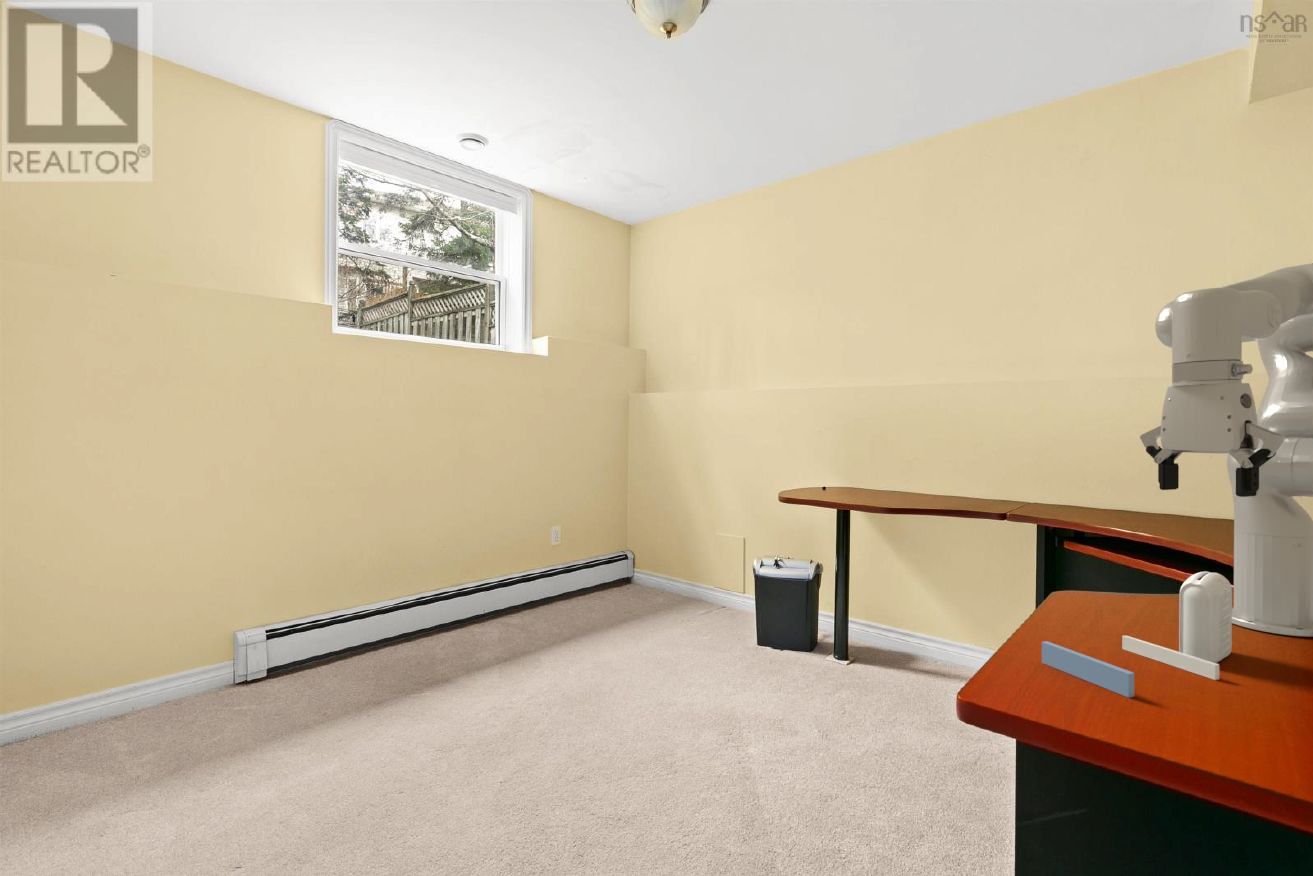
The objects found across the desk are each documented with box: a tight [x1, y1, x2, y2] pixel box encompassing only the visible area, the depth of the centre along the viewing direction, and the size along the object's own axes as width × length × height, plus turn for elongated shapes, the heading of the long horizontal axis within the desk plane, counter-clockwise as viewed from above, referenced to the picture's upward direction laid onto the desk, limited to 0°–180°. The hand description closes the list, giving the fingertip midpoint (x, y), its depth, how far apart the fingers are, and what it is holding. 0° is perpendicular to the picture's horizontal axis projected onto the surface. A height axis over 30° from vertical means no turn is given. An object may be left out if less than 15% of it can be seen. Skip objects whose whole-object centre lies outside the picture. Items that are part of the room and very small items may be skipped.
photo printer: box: [1178, 570, 1233, 664], centre depth 89 cm, size 10×4×12 cm, turn 123°
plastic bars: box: [1041, 635, 1220, 699], centre depth 84 cm, size 17×12×3 cm
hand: (1205, 492), depth 89 cm, fingers open, 9 cm apart
